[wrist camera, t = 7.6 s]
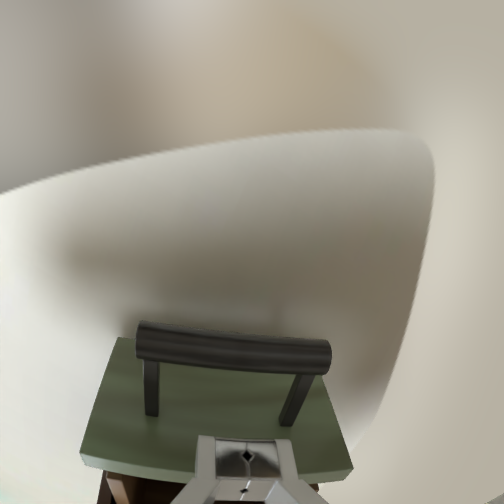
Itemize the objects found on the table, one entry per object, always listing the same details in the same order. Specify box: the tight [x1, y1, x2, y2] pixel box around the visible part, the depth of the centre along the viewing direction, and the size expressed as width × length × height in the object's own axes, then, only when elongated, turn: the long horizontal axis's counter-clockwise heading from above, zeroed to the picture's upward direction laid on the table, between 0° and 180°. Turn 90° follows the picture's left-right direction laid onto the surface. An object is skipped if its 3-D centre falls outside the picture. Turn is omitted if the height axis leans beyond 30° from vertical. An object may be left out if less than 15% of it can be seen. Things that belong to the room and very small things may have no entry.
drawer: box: [80, 320, 354, 504], centre depth 16 cm, size 18×11×8 cm, turn 169°
